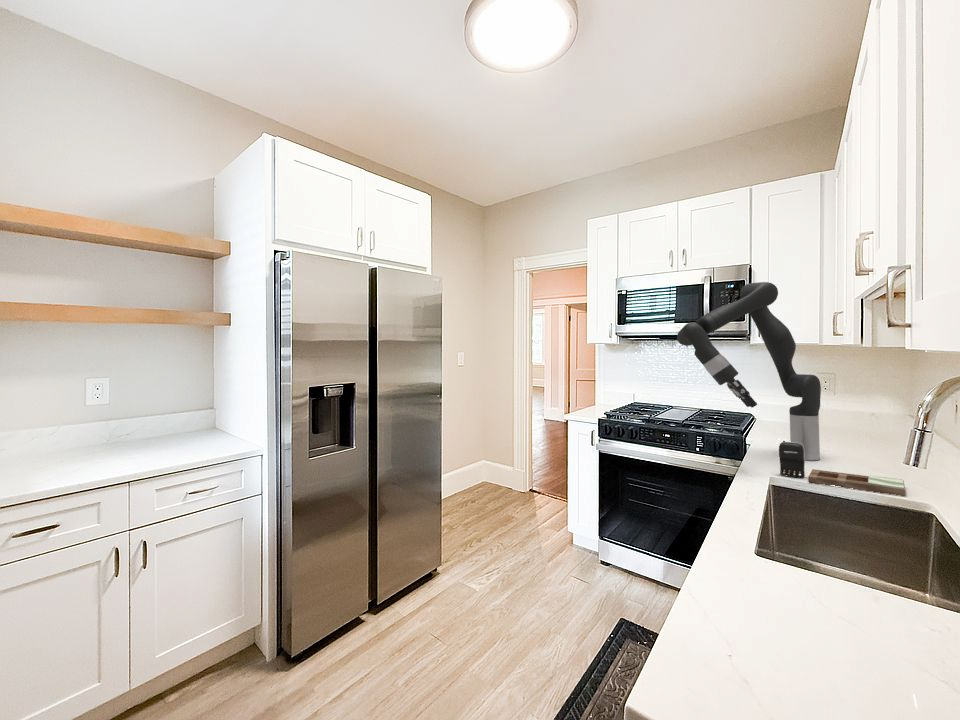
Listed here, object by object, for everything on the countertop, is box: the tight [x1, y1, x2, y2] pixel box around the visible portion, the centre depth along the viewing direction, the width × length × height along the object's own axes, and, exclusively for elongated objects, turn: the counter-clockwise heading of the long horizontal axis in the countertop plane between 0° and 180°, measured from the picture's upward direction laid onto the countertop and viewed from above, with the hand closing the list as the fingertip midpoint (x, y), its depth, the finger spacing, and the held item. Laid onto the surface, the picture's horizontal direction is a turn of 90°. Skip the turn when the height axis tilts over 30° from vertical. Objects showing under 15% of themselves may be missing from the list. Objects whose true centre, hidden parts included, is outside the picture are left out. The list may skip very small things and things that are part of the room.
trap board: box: [807, 468, 906, 497], centre depth 133 cm, size 12×22×2 cm, turn 47°
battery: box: [778, 441, 806, 479], centre depth 144 cm, size 7×4×11 cm, turn 47°
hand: (752, 405), depth 150 cm, fingers open, 8 cm apart
